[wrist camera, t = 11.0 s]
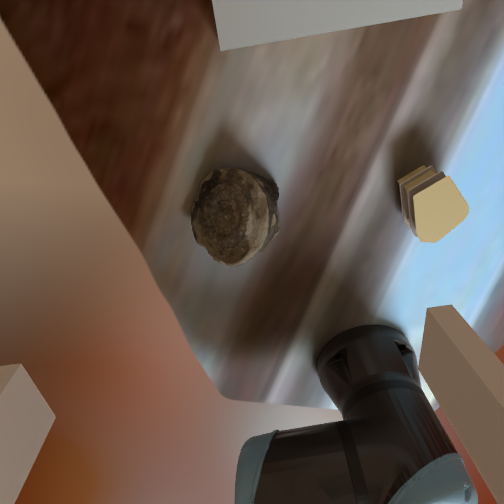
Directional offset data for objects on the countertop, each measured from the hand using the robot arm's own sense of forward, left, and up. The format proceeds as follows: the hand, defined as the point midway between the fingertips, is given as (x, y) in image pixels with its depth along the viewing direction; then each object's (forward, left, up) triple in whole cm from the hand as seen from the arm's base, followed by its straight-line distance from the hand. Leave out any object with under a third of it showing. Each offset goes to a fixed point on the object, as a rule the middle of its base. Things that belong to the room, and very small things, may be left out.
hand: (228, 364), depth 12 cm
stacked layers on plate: (-10, -21, -32) cm, 39 cm away
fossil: (-7, +1, -31) cm, 32 cm away
